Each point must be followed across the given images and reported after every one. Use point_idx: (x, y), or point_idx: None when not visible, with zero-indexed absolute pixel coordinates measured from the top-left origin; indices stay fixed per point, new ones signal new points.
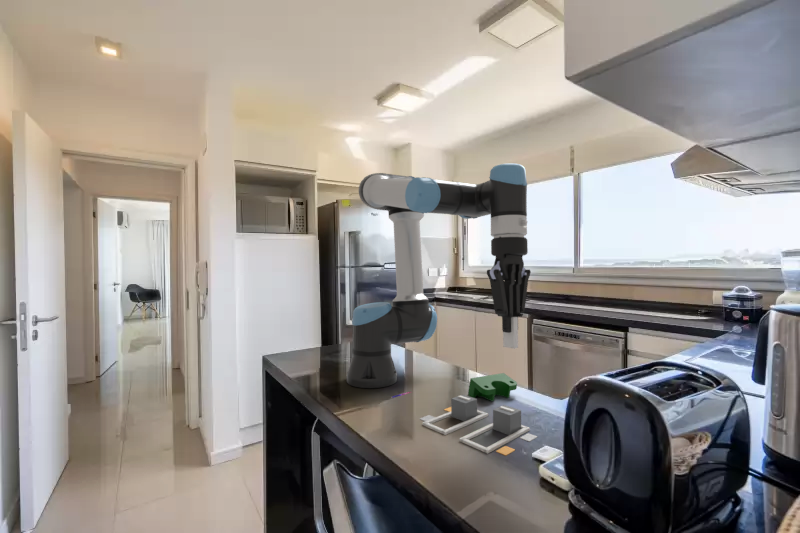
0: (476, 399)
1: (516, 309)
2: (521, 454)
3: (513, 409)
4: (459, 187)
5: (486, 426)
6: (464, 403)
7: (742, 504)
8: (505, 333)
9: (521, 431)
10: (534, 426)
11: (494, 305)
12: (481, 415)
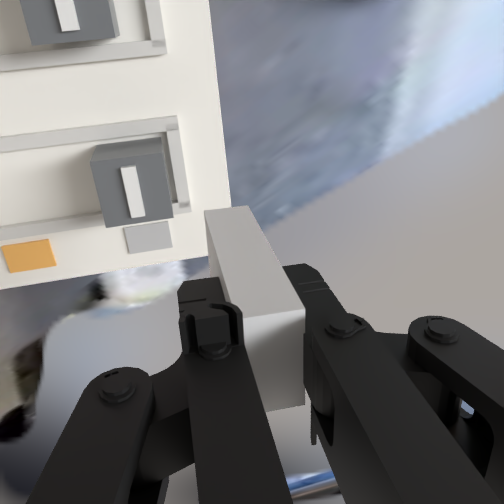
0: (111, 37)
1: (325, 453)
2: None
3: (156, 200)
4: None
5: (77, 132)
6: (30, 38)
7: None
8: (216, 268)
9: None
10: (255, 171)
11: (49, 467)
12: (130, 50)
